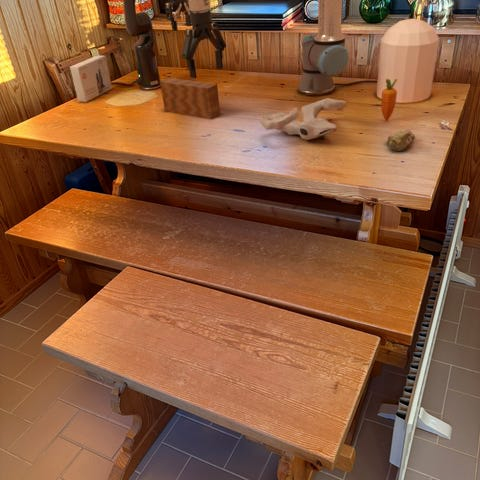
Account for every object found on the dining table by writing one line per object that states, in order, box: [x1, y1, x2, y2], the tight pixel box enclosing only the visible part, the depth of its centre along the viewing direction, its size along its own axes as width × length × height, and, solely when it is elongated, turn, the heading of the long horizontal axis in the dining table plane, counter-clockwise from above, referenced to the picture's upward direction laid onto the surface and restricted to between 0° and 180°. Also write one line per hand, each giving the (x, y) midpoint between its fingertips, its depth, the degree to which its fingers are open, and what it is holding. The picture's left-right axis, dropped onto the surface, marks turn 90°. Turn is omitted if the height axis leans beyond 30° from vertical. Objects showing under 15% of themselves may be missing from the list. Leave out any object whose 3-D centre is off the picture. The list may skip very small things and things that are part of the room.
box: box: [160, 77, 221, 120], centre depth 188 cm, size 25×6×12 cm, turn 54°
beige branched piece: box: [259, 97, 347, 141], centre depth 160 cm, size 28×26×12 cm
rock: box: [387, 129, 416, 152], centre depth 146 cm, size 11×6×10 cm
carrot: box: [380, 79, 397, 122], centre depth 161 cm, size 5×5×15 cm
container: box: [375, 18, 440, 104], centre depth 179 cm, size 21×21×28 cm
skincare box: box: [69, 54, 113, 103], centre depth 218 cm, size 21×6×16 cm, turn 158°
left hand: (182, 28), depth 190 cm, fingers open, 8 cm apart
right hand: (206, 73), depth 174 cm, fingers open, 13 cm apart
